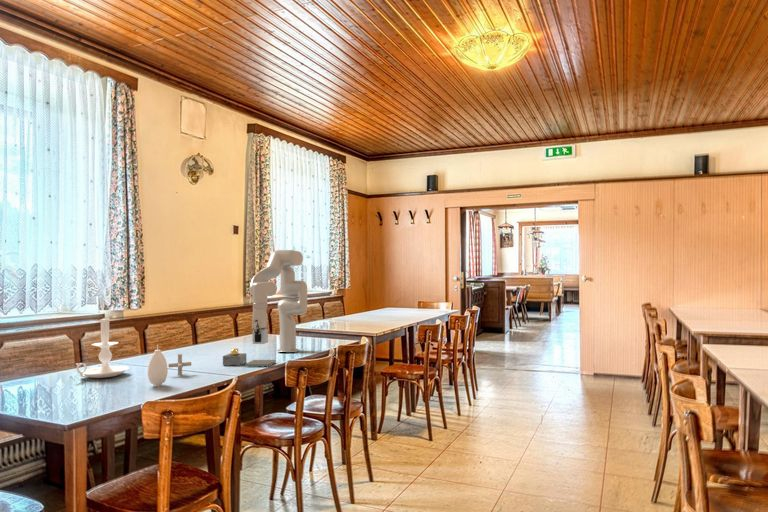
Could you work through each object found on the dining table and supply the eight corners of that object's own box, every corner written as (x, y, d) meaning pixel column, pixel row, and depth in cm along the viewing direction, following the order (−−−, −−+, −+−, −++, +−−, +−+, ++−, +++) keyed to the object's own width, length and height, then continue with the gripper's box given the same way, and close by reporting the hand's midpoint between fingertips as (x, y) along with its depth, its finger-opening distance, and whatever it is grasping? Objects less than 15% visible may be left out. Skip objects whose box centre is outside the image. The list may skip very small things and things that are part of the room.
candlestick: (61, 381, 237) (61, 319, 238) (110, 371, 260) (110, 314, 260) (91, 384, 228) (90, 320, 229) (139, 374, 251) (138, 315, 251)
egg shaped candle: (146, 388, 218) (146, 345, 219) (149, 384, 226) (149, 343, 226) (166, 387, 220) (166, 344, 221) (168, 383, 228) (168, 342, 228)
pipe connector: (168, 374, 248) (168, 353, 248) (190, 372, 252) (190, 351, 252) (169, 378, 239) (168, 356, 239) (192, 376, 243) (192, 354, 243)
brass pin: (232, 357, 274) (232, 348, 274) (239, 357, 274) (239, 348, 274) (230, 358, 271) (229, 349, 271) (236, 358, 270) (236, 349, 270)
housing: (256, 342, 273) (256, 328, 273) (267, 342, 272) (267, 328, 272) (252, 343, 267) (252, 330, 267) (263, 343, 266) (263, 330, 266)
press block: (230, 362, 277) (230, 353, 277) (246, 362, 276) (246, 353, 276) (222, 365, 268) (222, 356, 268) (239, 366, 267) (239, 356, 267)
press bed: (254, 362, 276) (254, 359, 276) (275, 362, 274) (275, 360, 274) (245, 367, 264) (245, 364, 264) (267, 367, 263) (267, 364, 263)
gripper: (259, 305, 279) (259, 339, 278) (246, 307, 262) (246, 343, 261) (272, 305, 278) (273, 339, 277) (260, 307, 261) (261, 343, 260)
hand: (260, 340), depth 269 cm, fingers closed on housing, 6 cm apart
